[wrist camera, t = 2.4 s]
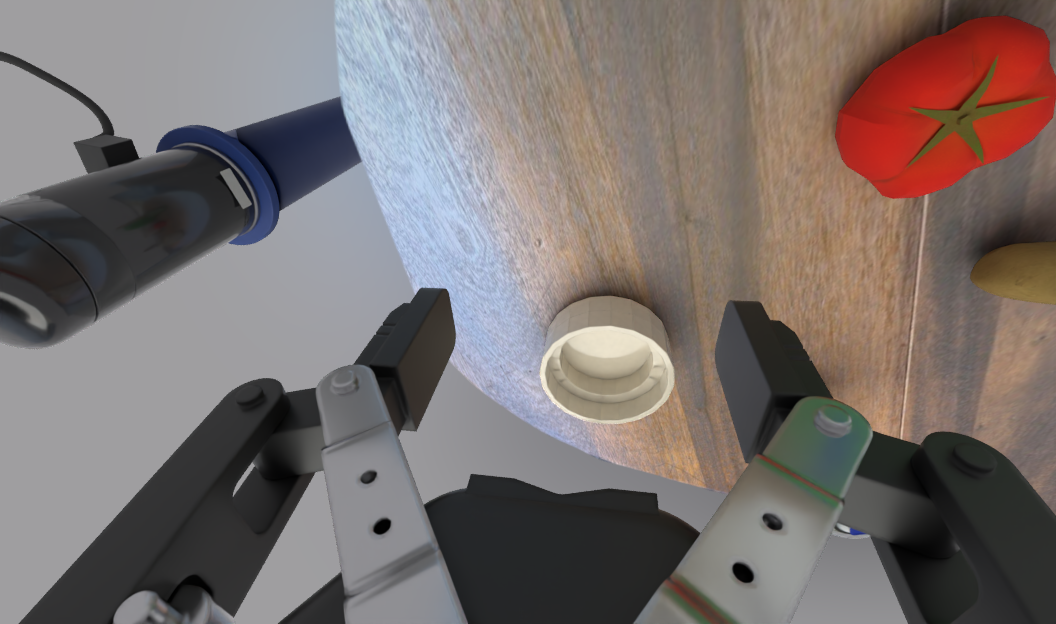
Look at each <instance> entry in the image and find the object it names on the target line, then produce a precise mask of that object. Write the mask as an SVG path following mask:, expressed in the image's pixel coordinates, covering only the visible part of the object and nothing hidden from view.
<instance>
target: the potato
mask: <svg viewBox="0 0 1056 624" xmlns="http://www.w3.org/2000/svg"><path fill="white" fill-rule="evenodd" d="M970 279H971V281H972V282H973V283H974V284H975V285H976V286H977V287H979V288H981V289H982V290H984V291H986V292H988V293H991V294H994V295H997V296H1001V297H1005V298H1010V299H1015V300H1021V301H1027V302H1035V303H1044V304H1054V305H1056V241H1050V242H1033V243H1017V244H1011V245H1008V246H1004V247H1000V248H997V249H995V250H993V251H991V252H989V253H987V254H986V255H985V256H983V257H982V258H981V259H980V260H979V261H978V262H977V263H976V264H975V266H974V267H973V270H972V272H971V275H970Z"/></svg>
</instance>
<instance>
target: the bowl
mask: <svg viewBox="0 0 1056 624" xmlns="http://www.w3.org/2000/svg"><path fill="white" fill-rule="evenodd" d="M539 374H540V379H541V383H542V388H543V389H544V391H545V392H546V394H547V395H548V397H549V398H550V400H551V401H552V402H553V403H554V404H555V405H556V406H558V407H559V408H560V409H561V410H563V411H564V412H565V413H568V414H570V415H572V416H574V417H576V418H578V419H581V420H584V421H589V422H594V423H598V424H600V423H601V424H622V423H627V422H631V421H636V420H638V419H641V418H643V417H645V416H647V415H649V414H651V413H653V412H655V411H656V410H657V409H658V408H659V407H660V406H661V405H662V404H663V403H664V402H665V401H667V399H668V397H669V395H670V393H671V391H672V389H673V386H674V365H673V360H672V354H671V348H670V343H669V337H668V334H667V332H666V330H665V328H664V325H663V323H662V321H661V320H660V319H659V318H658V317H657V316H656V315H655V314H654V313H653V312H652V311H651V310H650V309H649V308H647V307H645V306H643V305H641V304H639V303H637V302H635V301H633V300H630V299H625V298H620V297H615V296H598V297H589V298H586V299H583V300H580V301H578V302H575V303H572V304H570V305H569V306H568V307H566V308H565V309H564V310H562V311H561V312H560V313H558V314H557V315H556V317H555V318H554V320H553V321H552V323H551V324H550V326H549V328H548V332H547V337H546V341H545V347H544V352H543V357H542V362H541V367H540V372H539Z"/></svg>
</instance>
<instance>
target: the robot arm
mask: <svg viewBox="0 0 1056 624" xmlns="http://www.w3.org/2000/svg"><path fill="white" fill-rule="evenodd" d="M0 61H4V62H7V63H10V64H13V65H15V66H18V67H20V68H22V69H24V70H26V71H28V72H30V73H32V74H34V75H36V76H37V77H39V78H41V79H43V80H45V81H47V82H49V83H51V84H52V85H54V86H56V87H58V88H60V89H62V90H63V91H65V92H67V93H68V94H70V95H71V96H73V97H75V98H76V99H78V100H79V101H80V102H82V103H83V104H84V105H86V106H87V107H88V108H89V109H90V110H91V111H92V112H93V113H94V114H95V115H96V116H97V118H98V119H99V121H100V123H101V125H102V128H103V133H102V134H100V135H98V136H95V137H93V138H90V139H86V140H82V141H78V142H74V145H75V147H76V149H77V151H78V153H79V155H80V157H81V160H82V162H83V164H84V166H85V168H86V170H87V172H88V174H86V175H83V176H80V177H77V178H73V179H70V180H67V181H64V182H60V183H57V184H54V185H51V186H48V187H44V188H41V189H38V190H35V191H32V192H28V193H25V194H22V195H19V196H16V197H13V198H10V199H6V200H3V201H0V343H2V344H5V345H9V346H14V347H19V348H26V349H42V348H48V347H52V346H55V345H58V344H60V343H62V342H64V341H66V340H68V339H70V338H72V337H73V336H75V335H77V334H78V333H80V332H82V331H83V330H85V329H86V328H88V327H90V326H92V325H93V324H95V323H97V322H98V321H100V320H102V319H103V318H105V317H107V316H108V315H110V314H111V313H113V312H115V311H116V310H118V309H120V308H121V307H123V306H125V305H126V304H128V303H129V302H131V301H133V300H134V299H136V298H138V297H139V296H141V295H143V294H144V293H146V292H148V291H149V290H151V289H153V288H154V287H156V286H157V285H159V284H161V283H162V282H164V281H166V280H167V279H169V278H171V277H172V276H174V275H176V274H177V273H179V272H181V271H182V270H184V269H186V268H187V267H189V266H190V265H192V264H194V263H195V262H197V261H199V260H201V259H202V258H204V257H206V256H207V255H209V254H210V253H212V252H214V251H215V250H217V249H219V248H220V247H222V246H224V245H226V244H227V243H229V242H230V241H232V240H234V239H235V238H237V237H239V236H242V235H244V234H246V233H248V232H249V231H251V230H252V229H253V228H254V227H255V226H256V225H257V223H258V221H259V218H260V201H259V197H258V194H257V192H256V189H255V187H254V185H253V183H252V182H251V180H250V179H249V177H248V176H247V174H246V173H245V172H244V171H243V169H242V168H241V167H240V166H239V165H238V164H237V163H236V162H235V161H234V160H233V159H231V158H230V157H229V156H228V155H226V154H225V153H223V152H222V151H220V150H218V149H216V148H214V147H212V146H210V145H207V144H203V143H198V142H187V143H183V144H179V145H177V146H174V147H173V148H171V149H168V150H164V151H161V152H158V153H155V154H151V155H148V156H144V157H141V158H139V157H138V154H137V152H136V149H135V146H134V144H133V141H132V140H131V139H127V138H121V137H116V136H114V130H113V126H112V124H111V122H110V120H109V118H108V116H107V115H106V114H105V113H104V111H103V110H102V109H101V108H100V107H99V106H98V105H97V104H96V103H94V102H93V101H92V100H91V99H90V98H88V97H87V96H86V95H84V94H83V93H81V92H80V91H78V90H77V89H75V88H73V87H72V86H70V85H68V84H67V83H65V82H63V81H61V80H60V79H58V78H56V77H54V76H52V75H51V74H49V73H47V72H45V71H43V70H41V69H39V68H37V67H36V66H33V65H32V64H30V63H28V62H26V61H24V60H22V59H20V58H17V57H15V56H13V55H10V54H7V53H4V52H0ZM455 339H456V331H455V325H454V319H453V314H452V308H451V303H450V297H449V293H448V291H447V289H443V288H421V289H419V291H418V292H417V294H416V295H415V297H414V298H413V300H412V301H411V303H403V304H402V305H401V306H399V307H398V308H396V309H395V310H394V311H392V312H391V313H390V314H389V315H388V317H387V318H386V320H385V321H384V322H383V326H381V327H380V328H379V329H378V331H377V332H376V335H374V336H373V338H372V339H371V341H370V342H369V343H368V345H367V346H366V348H365V349H364V350H363V352H362V353H361V354H360V356H359V357H358V359H357V360H356V361H355V363H354V364H353V365H348V366H344V367H341V368H338V369H336V370H334V371H332V372H330V373H329V374H327V375H326V376H325V377H324V378H323V379H322V380H321V381H320V382H319V384H318V386H317V387H316V388H311V389H305V390H299V391H293V392H287V393H286V392H285V390H284V388H283V386H282V385H281V383H280V382H279V381H277V380H275V379H270V378H263V379H258V380H253V381H250V382H248V383H245V384H243V385H241V386H239V387H237V388H235V389H234V390H232V391H231V392H230V393H229V394H227V395H226V396H225V397H224V398H223V400H222V401H221V402H220V403H219V404H218V405H217V406H216V407H215V408H214V409H213V411H212V412H211V413H210V414H209V415H208V416H207V417H206V418H205V419H204V421H203V422H202V423H201V424H200V425H199V426H198V427H197V428H196V429H195V430H194V431H193V433H192V434H191V435H190V436H189V437H188V438H187V439H186V440H185V442H183V444H182V445H181V446H180V447H179V448H178V449H177V450H176V451H175V452H174V453H173V455H172V456H171V457H170V458H169V459H168V460H167V461H166V462H165V463H164V464H163V466H162V467H161V468H160V469H159V470H158V471H157V472H156V473H155V474H154V475H153V477H152V478H151V479H150V480H149V481H148V482H147V483H146V484H145V485H144V487H143V488H142V489H141V490H140V491H139V492H138V493H137V494H136V495H135V497H134V498H133V499H132V500H131V501H130V502H129V503H128V504H127V505H126V506H125V507H124V508H123V510H122V511H121V512H120V513H119V514H118V515H117V516H116V517H115V518H114V520H113V521H112V522H111V523H110V524H109V525H108V526H107V527H106V528H105V529H104V530H103V532H102V533H101V534H100V535H99V536H98V537H97V538H96V539H95V541H94V542H93V543H92V544H91V545H90V546H89V547H88V548H87V549H86V550H85V551H84V552H83V554H82V555H81V556H80V557H79V558H78V559H77V560H76V561H75V562H74V564H73V565H72V566H71V567H70V568H69V569H68V570H67V571H66V572H65V574H63V576H62V577H61V578H60V579H59V580H58V581H57V582H56V583H55V584H54V586H53V587H52V588H51V589H50V590H49V591H48V592H47V593H46V594H45V595H44V596H43V598H42V599H41V600H40V601H39V602H38V603H37V604H36V605H35V606H34V607H33V609H32V610H31V611H30V612H29V613H28V614H27V615H26V616H25V617H24V619H23V620H22V621H21V622H20V623H19V624H236V623H235V620H234V619H233V618H234V616H235V614H236V613H237V611H238V609H239V607H240V605H241V603H242V602H243V600H244V598H245V597H246V595H247V593H248V591H249V589H250V588H251V586H252V584H253V582H254V581H255V579H256V577H257V575H258V573H259V572H260V570H261V568H262V566H263V565H264V563H265V561H266V559H267V557H268V556H269V554H270V552H271V550H272V549H273V547H274V545H275V543H276V542H277V540H278V538H279V536H280V534H281V533H282V531H283V529H284V527H285V525H286V524H287V522H288V520H289V518H290V517H291V515H292V513H293V511H294V510H295V508H296V506H297V504H298V503H299V501H300V499H301V497H302V495H303V494H304V492H305V490H306V488H307V487H308V485H309V483H310V481H311V479H312V478H313V476H314V474H315V472H317V471H323V470H324V474H325V479H326V485H327V491H328V497H329V503H330V509H331V514H332V519H333V526H334V532H335V537H336V543H337V549H338V555H339V560H340V566H341V572H340V573H339V574H338V575H336V576H335V577H334V578H333V579H331V580H330V581H329V582H328V583H327V584H325V585H324V586H323V587H322V588H320V589H319V590H318V591H317V592H316V593H314V594H313V595H312V596H311V597H310V598H308V599H307V600H306V601H305V602H303V603H302V604H301V605H300V606H299V607H297V608H296V609H295V610H294V611H292V612H291V613H290V614H289V615H288V616H286V617H285V618H284V619H283V620H281V621H280V622H279V623H278V624H790V622H791V620H792V618H793V616H794V614H795V612H796V609H797V607H798V605H799V603H800V600H801V599H802V596H803V594H804V592H805V590H806V588H807V586H808V583H809V581H810V579H811V577H812V575H813V572H814V570H815V568H816V566H817V564H818V562H819V559H820V557H821V555H822V553H823V551H824V549H825V547H826V544H827V542H828V540H829V538H830V536H831V534H832V531H833V529H834V527H835V525H836V523H839V524H841V525H844V526H847V527H849V528H852V529H855V530H857V531H860V532H863V533H865V534H868V535H870V537H871V539H872V541H873V544H874V546H875V548H876V550H877V553H878V555H879V558H880V560H881V562H882V565H883V567H884V569H885V571H886V574H887V576H888V578H889V581H890V583H891V585H892V588H893V590H894V592H895V594H896V597H897V599H898V601H899V604H900V606H901V608H902V610H903V613H904V615H905V618H906V620H907V622H908V624H1056V516H1055V514H1054V513H1053V512H1052V511H1051V509H1050V508H1049V507H1048V506H1047V505H1046V503H1045V502H1044V501H1043V500H1042V498H1041V497H1040V496H1039V495H1038V493H1037V492H1036V491H1035V490H1034V489H1033V487H1032V486H1031V485H1030V484H1029V482H1028V481H1027V480H1026V479H1025V478H1024V476H1023V475H1022V474H1021V473H1020V471H1019V470H1018V469H1017V468H1016V467H1015V465H1014V464H1013V463H1012V462H1011V461H1010V460H1009V459H1007V458H1006V457H1005V456H1004V455H1003V454H1001V453H1000V452H998V451H997V450H995V449H994V448H992V447H991V446H989V445H987V444H985V443H983V442H981V441H979V440H976V439H974V438H971V437H969V436H966V435H962V434H958V433H953V432H935V433H931V434H930V435H928V436H927V437H926V438H925V439H924V441H923V442H922V443H921V445H918V444H915V443H911V442H908V441H904V440H901V439H898V438H894V437H891V436H887V435H884V434H881V433H878V432H875V431H873V430H872V428H871V426H870V424H869V422H868V421H867V420H866V419H865V418H864V417H863V416H862V415H861V414H860V413H859V412H858V411H856V410H855V409H853V408H852V407H850V406H848V405H846V404H844V403H842V402H840V401H837V400H834V399H833V397H832V396H831V394H830V392H829V390H828V389H827V387H826V385H825V383H824V382H823V380H822V378H821V377H820V375H819V373H818V371H817V370H816V368H815V366H814V365H813V363H812V361H810V360H809V359H810V358H809V356H808V354H807V352H806V351H805V349H803V346H802V344H801V342H800V340H799V339H798V337H797V335H796V334H795V332H793V331H792V330H791V329H790V328H788V327H787V326H786V325H785V324H783V323H782V322H781V321H775V320H770V319H769V317H768V315H767V313H766V312H765V310H764V308H763V306H762V304H761V303H760V302H757V301H732V300H730V301H729V302H728V303H727V305H726V308H725V311H724V315H723V319H722V323H721V327H720V331H719V335H718V339H717V343H716V348H715V363H716V368H717V371H718V374H719V378H720V381H721V384H722V387H723V391H724V394H725V397H726V401H727V404H728V407H729V410H730V414H731V417H732V420H733V424H734V427H735V430H736V433H737V437H738V440H739V443H740V447H741V450H742V453H743V456H744V460H745V463H749V465H748V466H747V468H746V469H745V471H744V472H743V473H742V475H741V476H740V478H739V479H738V481H737V482H736V484H735V485H734V486H733V488H732V489H731V491H730V492H729V494H728V495H727V496H726V498H725V499H724V501H723V502H722V504H721V505H720V506H719V508H718V509H717V511H716V512H715V514H714V515H713V516H712V518H711V519H710V521H709V522H708V524H707V525H706V526H705V528H704V529H703V531H702V532H701V533H700V532H698V531H697V530H696V529H694V528H693V527H692V526H690V525H689V524H688V523H686V522H684V521H683V520H681V519H679V518H678V517H676V516H674V515H672V514H670V513H667V512H665V511H662V510H660V509H658V501H657V494H655V493H647V492H636V491H628V490H618V489H601V490H594V491H586V492H579V493H571V494H563V495H562V494H556V493H553V492H550V491H547V490H545V489H542V488H539V487H536V486H534V485H531V484H528V483H525V482H523V481H520V480H517V479H514V478H505V477H495V476H485V475H476V474H471V476H470V479H469V483H468V486H467V488H465V489H459V490H455V491H452V492H449V493H446V494H443V495H441V496H439V497H437V498H435V499H433V500H431V501H429V502H427V503H426V504H424V505H423V503H422V500H421V497H420V494H419V492H418V489H417V486H416V483H415V481H414V478H413V476H412V473H411V470H410V467H409V465H408V462H407V459H406V457H405V454H404V451H403V449H402V446H401V443H400V440H399V438H398V436H399V434H400V432H401V430H406V431H417V429H418V426H419V424H420V422H421V420H422V418H423V415H424V413H425V411H426V409H427V407H428V404H429V402H430V400H431V398H432V396H433V393H434V391H435V389H436V387H437V384H438V382H439V380H440V378H441V376H442V374H443V371H444V369H445V367H446V365H447V363H448V360H449V358H450V356H451V354H452V352H453V349H454V346H455ZM252 462H253V464H254V465H255V467H254V468H253V470H252V471H251V473H250V474H249V475H248V477H247V478H246V480H245V481H244V482H243V484H242V485H241V487H240V488H239V490H238V491H237V492H236V494H235V495H234V497H233V492H234V489H235V486H236V484H237V482H238V481H239V479H240V478H241V477H242V475H243V474H244V472H245V471H246V470H247V468H248V466H249V465H250V464H251V463H252Z"/></svg>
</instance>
